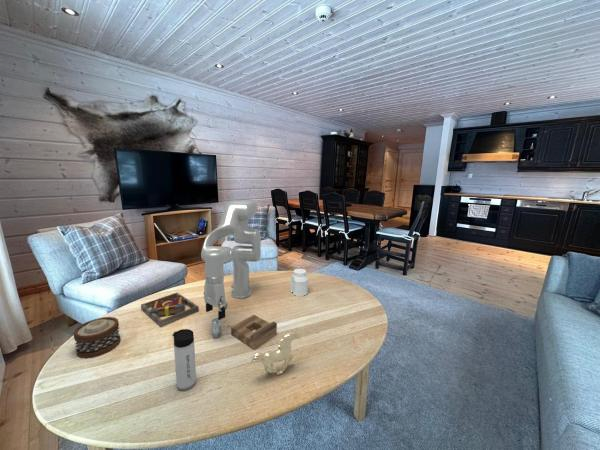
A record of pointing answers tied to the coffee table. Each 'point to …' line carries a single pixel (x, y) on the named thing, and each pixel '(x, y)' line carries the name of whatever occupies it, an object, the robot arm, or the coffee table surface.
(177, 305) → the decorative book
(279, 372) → the unicorn
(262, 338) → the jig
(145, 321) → the coffee table surface
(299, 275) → the jar
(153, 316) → the book frame
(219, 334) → the blue-grey domed cylinder
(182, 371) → the travel mug
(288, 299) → the coffee table surface
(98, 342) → the brown drum
